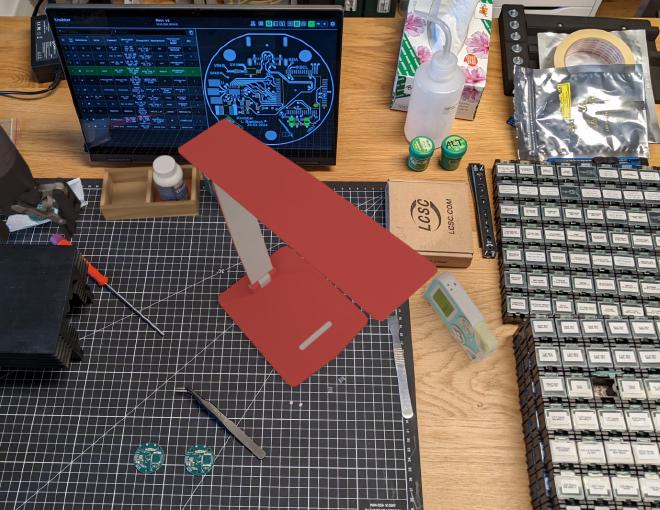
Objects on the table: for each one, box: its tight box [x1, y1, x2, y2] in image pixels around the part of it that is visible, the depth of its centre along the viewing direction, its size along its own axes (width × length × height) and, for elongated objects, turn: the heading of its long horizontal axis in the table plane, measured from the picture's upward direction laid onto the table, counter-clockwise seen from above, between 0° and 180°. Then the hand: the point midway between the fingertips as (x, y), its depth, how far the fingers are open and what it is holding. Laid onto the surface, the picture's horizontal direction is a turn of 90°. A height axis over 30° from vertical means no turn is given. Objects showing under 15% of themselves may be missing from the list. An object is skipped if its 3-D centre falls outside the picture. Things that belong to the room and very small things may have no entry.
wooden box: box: [99, 164, 201, 221], centre depth 118 cm, size 9×17×4 cm, turn 94°
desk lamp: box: [177, 118, 439, 388], centre depth 89 cm, size 18×38×40 cm, turn 43°
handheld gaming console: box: [420, 270, 499, 364], centre depth 103 cm, size 11×3×15 cm
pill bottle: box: [152, 155, 189, 202], centre depth 115 cm, size 5×5×10 cm
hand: (38, 234), depth 82 cm, fingers open, 8 cm apart
